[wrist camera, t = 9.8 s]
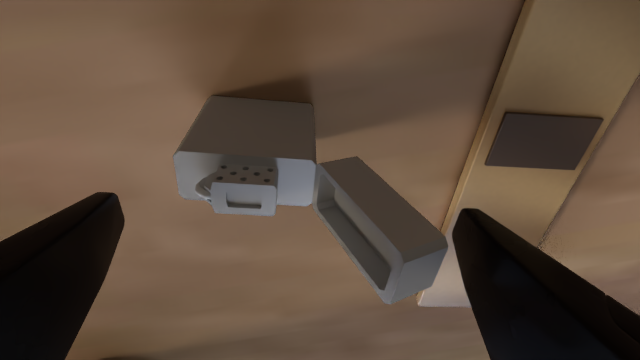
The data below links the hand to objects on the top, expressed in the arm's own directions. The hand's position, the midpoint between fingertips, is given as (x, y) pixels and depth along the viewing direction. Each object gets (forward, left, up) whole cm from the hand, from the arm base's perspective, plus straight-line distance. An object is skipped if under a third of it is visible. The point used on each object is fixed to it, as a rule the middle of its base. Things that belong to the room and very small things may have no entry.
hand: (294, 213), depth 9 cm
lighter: (0, 0, -6) cm, 6 cm away
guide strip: (0, -10, -6) cm, 12 cm away
